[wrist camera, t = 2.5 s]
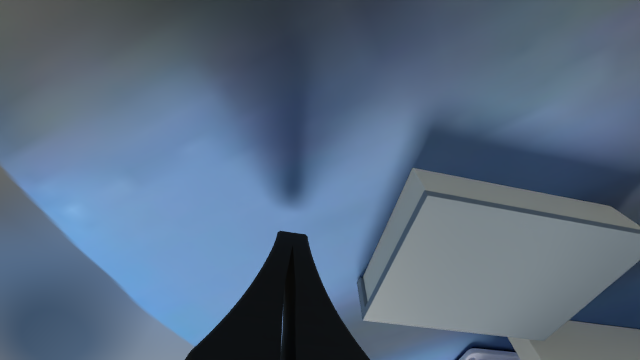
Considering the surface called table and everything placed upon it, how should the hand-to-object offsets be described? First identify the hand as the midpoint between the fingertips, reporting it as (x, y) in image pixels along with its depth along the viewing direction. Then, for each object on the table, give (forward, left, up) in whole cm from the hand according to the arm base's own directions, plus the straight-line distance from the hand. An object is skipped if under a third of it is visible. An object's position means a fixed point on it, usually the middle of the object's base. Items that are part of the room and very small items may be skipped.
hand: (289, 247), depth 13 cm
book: (0, -11, -3) cm, 11 cm away
